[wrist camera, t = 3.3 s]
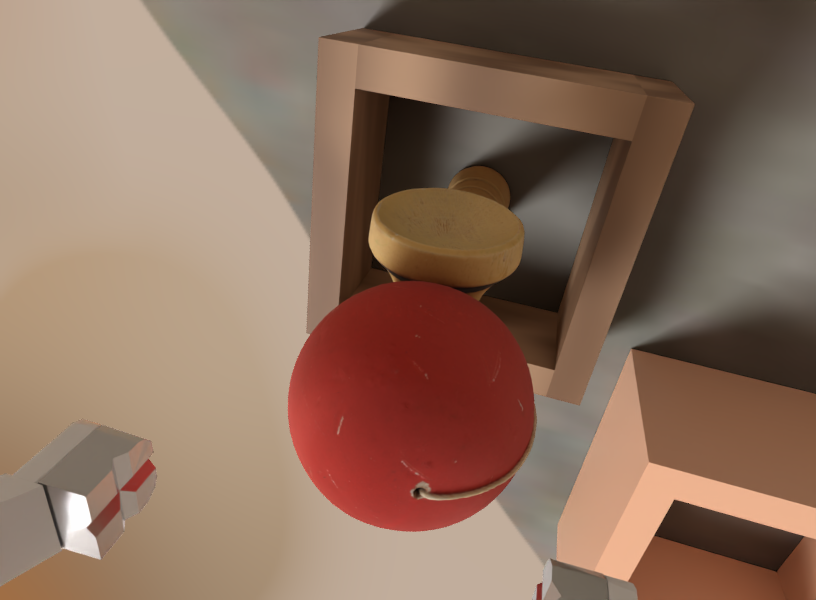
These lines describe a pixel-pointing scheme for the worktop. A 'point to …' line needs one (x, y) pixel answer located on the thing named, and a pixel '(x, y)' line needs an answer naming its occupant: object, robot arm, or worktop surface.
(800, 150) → the worktop surface
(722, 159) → the worktop surface
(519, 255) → the kendama
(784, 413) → the stand
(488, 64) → the block
